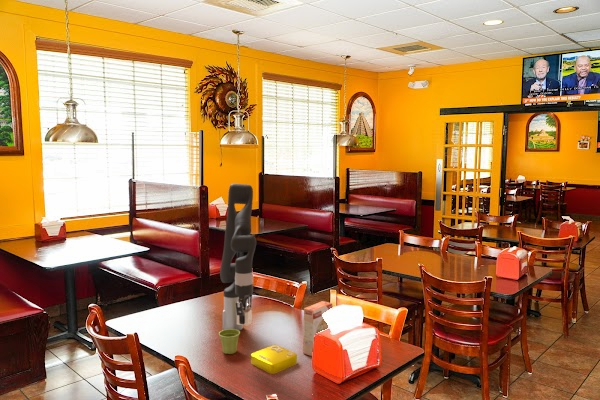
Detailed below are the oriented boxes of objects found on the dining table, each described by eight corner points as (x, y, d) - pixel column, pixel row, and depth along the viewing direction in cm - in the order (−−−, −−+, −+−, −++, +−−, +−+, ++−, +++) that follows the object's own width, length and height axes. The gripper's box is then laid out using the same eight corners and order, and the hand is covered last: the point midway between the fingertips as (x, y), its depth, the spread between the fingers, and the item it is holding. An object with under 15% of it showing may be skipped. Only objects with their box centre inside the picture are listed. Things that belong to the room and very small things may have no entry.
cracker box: (313, 357, 210) (313, 311, 208) (302, 353, 214) (302, 307, 212) (332, 347, 221) (332, 302, 219) (321, 343, 225) (322, 300, 223)
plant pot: (215, 350, 217) (214, 331, 216) (233, 345, 223) (233, 327, 222) (225, 357, 210) (225, 338, 209) (244, 352, 216) (244, 333, 215)
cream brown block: (236, 324, 204) (236, 311, 203) (240, 320, 208) (240, 307, 208) (248, 325, 202) (247, 312, 202) (252, 321, 207) (251, 308, 207)
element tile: (248, 363, 205) (248, 352, 205) (275, 353, 216) (275, 342, 215) (272, 375, 195) (272, 364, 194) (299, 364, 205) (299, 353, 205)
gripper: (241, 277, 211) (241, 315, 213) (229, 286, 197) (229, 326, 199) (257, 278, 210) (258, 316, 211) (246, 287, 196) (247, 328, 198)
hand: (244, 321), depth 205 cm, fingers closed on cream brown block, 5 cm apart
